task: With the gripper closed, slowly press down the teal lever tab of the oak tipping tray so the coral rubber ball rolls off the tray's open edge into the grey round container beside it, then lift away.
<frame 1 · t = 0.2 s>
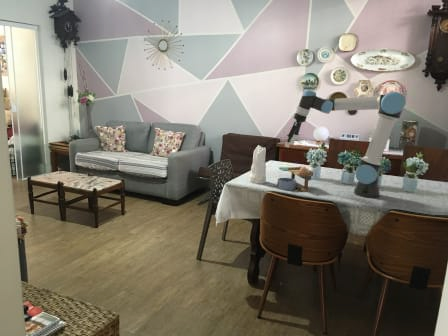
hand: (289, 145, 234), 28 cm above the table, tool tilted 15°, fingers open, 13 cm apart
rubber ball: (303, 169, 235), point 12 cm above the table, touching tipping tray
grey round container: (286, 187, 237), on the table
tipping tray: (295, 172, 240), point 10 cm above the table, hinge at 0.0°, touching rubber ball
decorative vase: (257, 182, 250), on the table
pivot stand: (298, 187, 239), on the table
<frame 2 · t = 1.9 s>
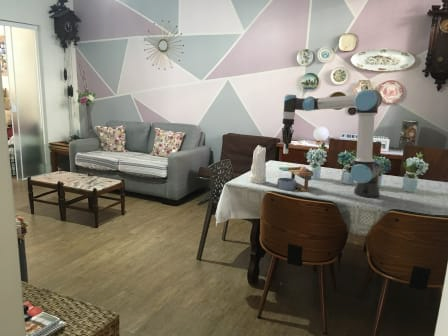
hand: (285, 153, 244), 21 cm above the table, tool pointing down, fingers closed
nothing on the table moved.
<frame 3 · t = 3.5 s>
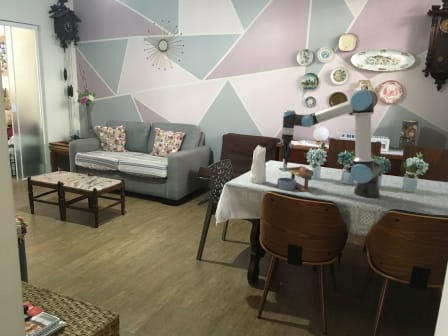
hand: (284, 168, 246), 11 cm above the table, tool pointing down, fingers closed
tipping tray: (295, 172, 240), point 9 cm above the table, hinge at -3.2°, touching gripper, rubber ball
everything else where it was.
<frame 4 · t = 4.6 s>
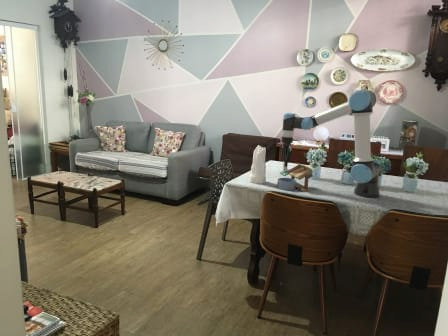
hand: (284, 170, 247), 9 cm above the table, tool pointing down, fingers closed
rubber ball: (283, 184, 235), point 3 cm above the table, tilted 41°, touching grey round container
tipping tray: (295, 173, 240), point 9 cm above the table, hinge at -28.0°, touching gripper
everything else where it was.
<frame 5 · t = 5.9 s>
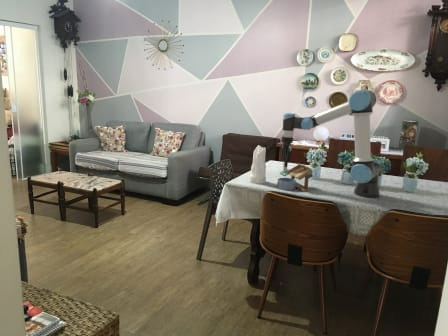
hand: (284, 170, 247), 9 cm above the table, tool pointing down, fingers closed
tipping tray: (295, 173, 240), point 9 cm above the table, hinge at -28.6°, touching gripper
everything else where it was.
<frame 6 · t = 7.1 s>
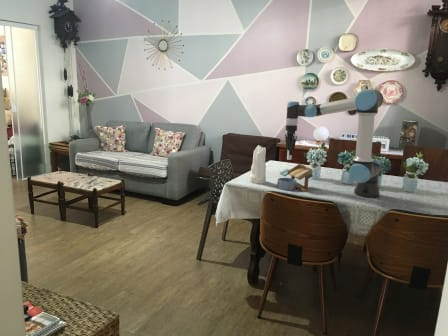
hand: (289, 159, 246), 16 cm above the table, tool pointing down, fingers closed
tipping tray: (295, 173, 240), point 9 cm above the table, hinge at -28.6°
everything else where it was.
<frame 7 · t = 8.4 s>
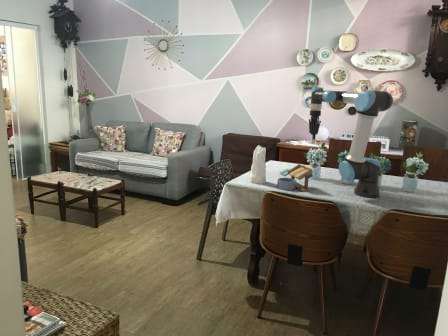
hand: (312, 143, 256), 26 cm above the table, tool pointing down, fingers closed
nothing on the table moved.
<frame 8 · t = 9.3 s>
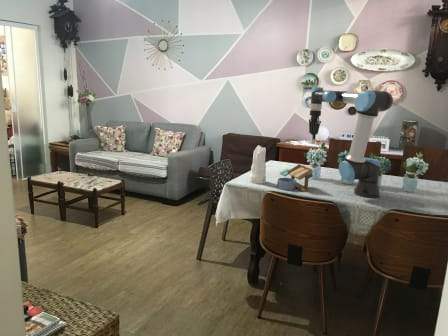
hand: (312, 143, 256), 26 cm above the table, tool pointing down, fingers closed
nothing on the table moved.
at the end: rubber ball inside the target area on the grey round container (2.6 cm from its centre), point 2.6 cm above the grey round container's base; decorative vase moved 0.2 cm from its start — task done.
